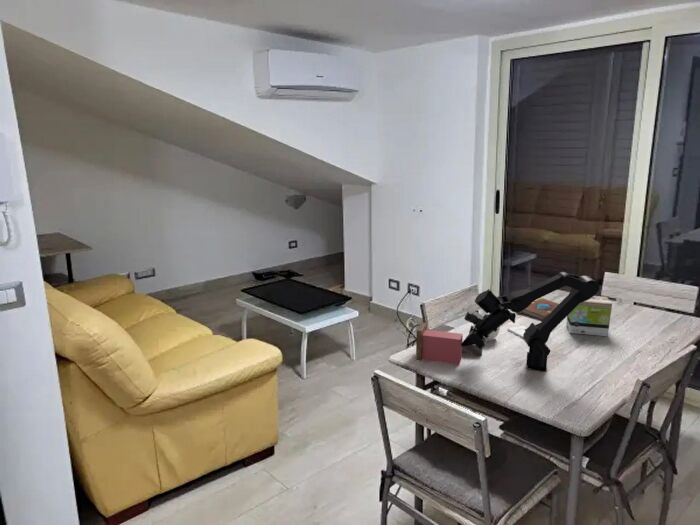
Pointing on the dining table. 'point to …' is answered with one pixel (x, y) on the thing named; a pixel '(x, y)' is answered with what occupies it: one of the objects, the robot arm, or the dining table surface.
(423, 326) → the bookend
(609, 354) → the dining table surface
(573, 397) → the dining table surface
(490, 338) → the lidded jar
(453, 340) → the pink rectangular block
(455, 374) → the dining table surface
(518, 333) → the external hard drive
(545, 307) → the book
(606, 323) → the tea box
